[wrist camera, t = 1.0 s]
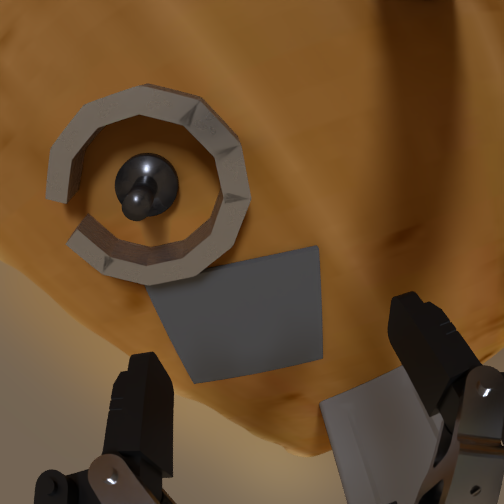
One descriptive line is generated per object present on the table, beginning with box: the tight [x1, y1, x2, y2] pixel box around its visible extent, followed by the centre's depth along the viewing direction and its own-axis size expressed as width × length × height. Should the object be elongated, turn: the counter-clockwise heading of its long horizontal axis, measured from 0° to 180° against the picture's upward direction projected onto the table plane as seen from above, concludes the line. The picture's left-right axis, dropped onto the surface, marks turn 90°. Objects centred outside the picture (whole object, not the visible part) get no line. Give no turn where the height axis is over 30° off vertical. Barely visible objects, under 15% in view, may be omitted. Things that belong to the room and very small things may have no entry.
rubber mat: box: [145, 246, 323, 384], centre depth 35 cm, size 17×17×1 cm
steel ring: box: [46, 84, 251, 286], centre depth 24 cm, size 16×16×3 cm
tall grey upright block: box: [319, 365, 443, 504], centre depth 38 cm, size 19×15×28 cm
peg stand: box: [115, 153, 178, 221], centre depth 23 cm, size 5×5×5 cm
